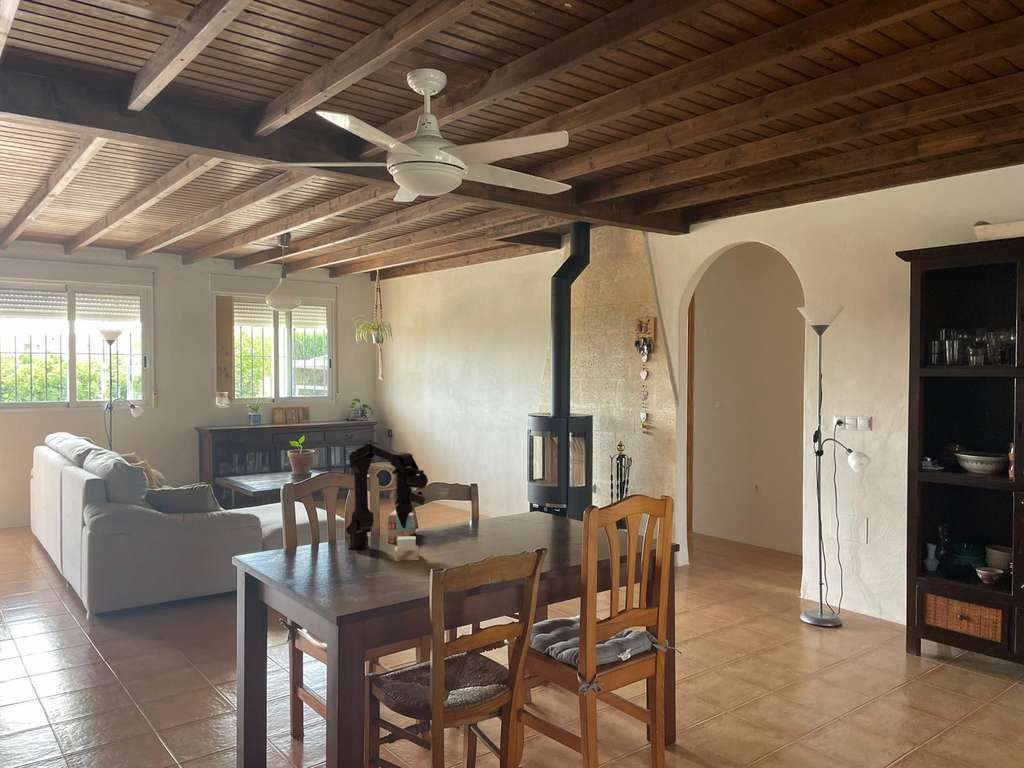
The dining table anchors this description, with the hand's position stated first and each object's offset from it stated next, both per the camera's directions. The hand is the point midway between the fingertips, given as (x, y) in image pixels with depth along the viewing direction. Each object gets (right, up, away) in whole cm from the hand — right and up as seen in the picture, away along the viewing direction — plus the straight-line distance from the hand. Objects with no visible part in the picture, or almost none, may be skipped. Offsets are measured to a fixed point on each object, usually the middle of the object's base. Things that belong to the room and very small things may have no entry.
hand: (403, 526), depth 302 cm
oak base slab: (+1, -13, +1) cm, 13 cm away
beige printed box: (-6, -12, +36) cm, 39 cm away
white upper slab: (+1, -9, +1) cm, 9 cm away
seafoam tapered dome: (0, -1, 0) cm, 1 cm away
